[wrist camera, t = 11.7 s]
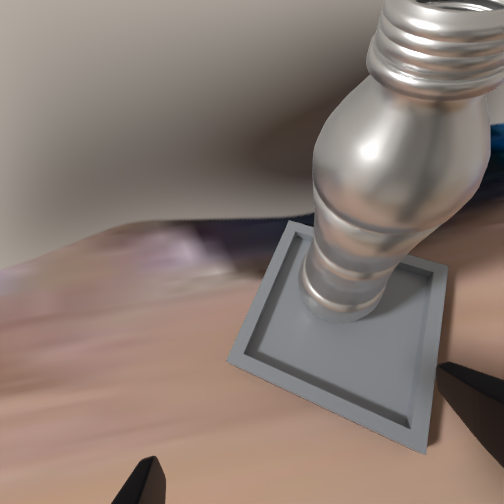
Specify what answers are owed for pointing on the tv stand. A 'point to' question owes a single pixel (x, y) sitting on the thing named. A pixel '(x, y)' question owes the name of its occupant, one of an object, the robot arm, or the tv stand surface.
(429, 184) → the plastic bottle
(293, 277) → the grey tray
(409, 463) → the tv stand surface
